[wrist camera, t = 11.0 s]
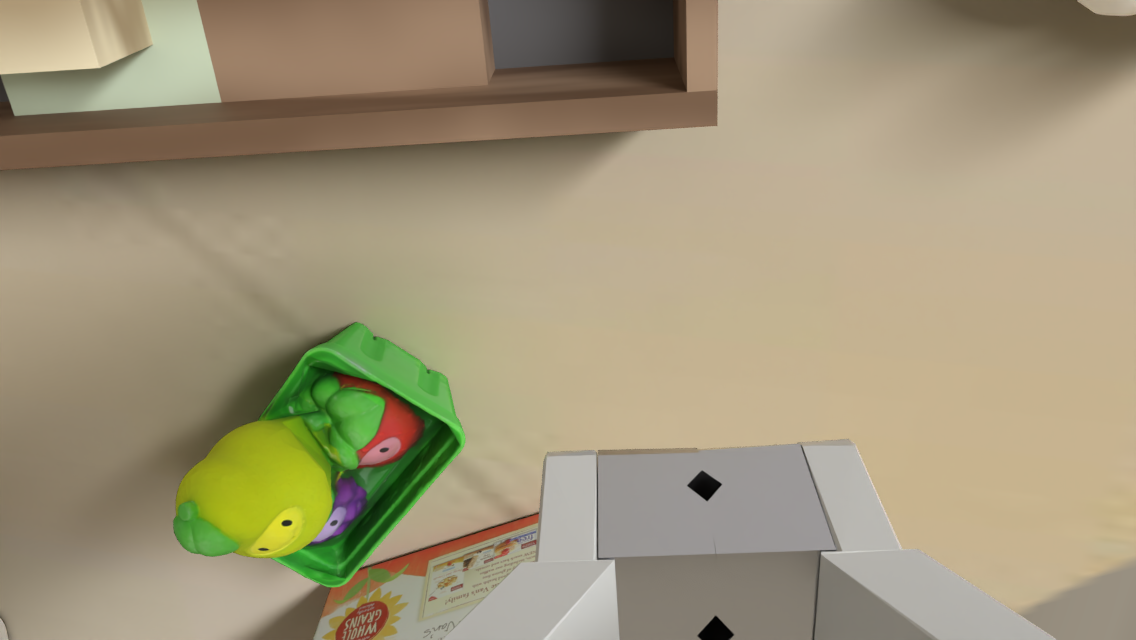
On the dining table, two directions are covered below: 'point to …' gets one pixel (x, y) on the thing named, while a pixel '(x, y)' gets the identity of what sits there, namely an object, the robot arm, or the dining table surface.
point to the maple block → (69, 34)
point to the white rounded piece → (1111, 7)
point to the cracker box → (426, 587)
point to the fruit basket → (324, 461)
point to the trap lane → (368, 78)
